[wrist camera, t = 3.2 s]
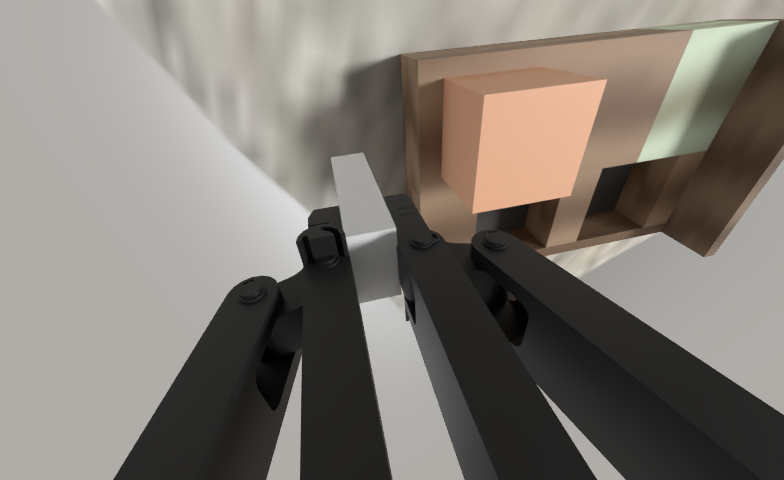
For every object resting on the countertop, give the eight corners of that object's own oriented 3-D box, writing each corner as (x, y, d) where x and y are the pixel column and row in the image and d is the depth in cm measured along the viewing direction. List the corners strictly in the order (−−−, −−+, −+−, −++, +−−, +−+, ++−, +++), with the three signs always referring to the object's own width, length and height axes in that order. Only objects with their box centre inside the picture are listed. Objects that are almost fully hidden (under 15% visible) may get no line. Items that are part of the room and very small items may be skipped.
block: (443, 78, 17) (484, 95, 13) (541, 66, 18) (607, 79, 14) (441, 176, 21) (472, 213, 17) (522, 163, 21) (570, 195, 17)
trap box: (400, 54, 19) (444, 69, 13) (724, 19, 23) (886, 18, 16) (409, 253, 29) (437, 317, 23) (634, 209, 32) (713, 254, 26)
